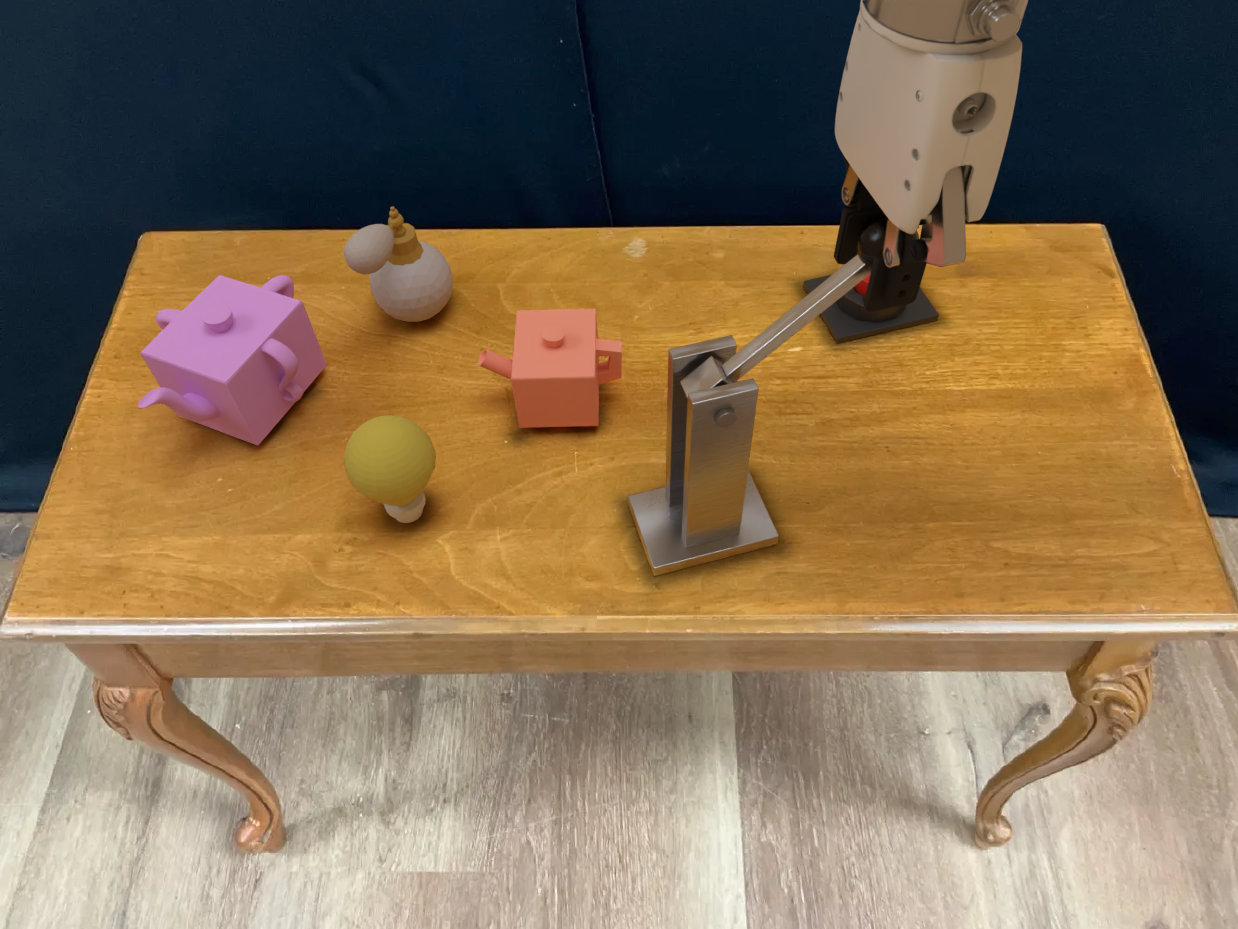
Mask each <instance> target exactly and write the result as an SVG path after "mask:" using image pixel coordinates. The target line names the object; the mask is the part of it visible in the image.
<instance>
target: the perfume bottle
mask: <svg viewBox="0 0 1238 929" xmlns="http://www.w3.org/2000/svg"><path fill="white" fill-rule="evenodd" d="M388 215H389V217H388V220H387V224H383V223H375V224H369V225H367V226H364V227H361V228H360V229H359V230H357V231H355V232H354V233H352V235H351V236H350V237H349V238H348V239H347V241H346V243H345V246H344V249H343V256H344V260H345V263H346V264H347V266H348V267H349V268H350V269H351V270H352V271H353V272H356V273H357V274H361V275H369V287H370V291H371V294H372V297H373V298H374V300H375V302H376V303H377V305H378V307H379V308H380V309H381V310H383V311H384V312H385V313H386V314H387V315H388V316H390V317H393V318H394V319H396V320H400V321H404V322H406V323H407V322H408V323H414V322H415V323H416V322H417V323H419V322H422V321H426V320H430V319H431V318H433V317H434V316H436V315H437V314H438V313H440V312H441V311H442V310H443V309H444V308H445V307H446V305H448V302H449V300H450V298H451V295H452V291H453V286H454V285H453V273H452V270H451V267H450V264H449V262H448V260H447V259H446V257H445V256H444V255H443V253H441V251H440V250H438V248H437V247H435V246H433V245H431V244H429V243H428V242H425V241H422V240H419V239H418V236H417V232H416V229H415V226H413V225H412V224H410V223H407V222H404V217H403V215H401V213H399V211H398V209H397V208H395V206H390V210H389V213H388Z"/></svg>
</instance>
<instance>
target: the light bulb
mask: <svg viewBox="0 0 1238 929" xmlns="http://www.w3.org/2000/svg"><path fill="white" fill-rule="evenodd" d="M436 453H437V452H436V450H435V447H434V444H433V441H432V439H431V436H429V434H428V433H427V432H426V431H425V429H423V428H422V426H421V425H419V424H418V423H416V422H415V421H413V420H411V419H409V418H407V417H405V416H399V415H395V414H391V415H390V414H389V415H379V416H376V417H373V418H371V419H368V420H367V421H365V422H363V423H362V424H360V425H359V427H357V428H356V429H355V430H354V431H353V433H352V434H351V436H350V438H349V440H348V441H347V443H346V444H345V449H344V457H343V465H344V469H345V470H344V471H345V473H346V478H347V480H348V482H349V483H350V484H351V486H352V487H353V488H354V489H355V491H356V493H357V492H358V493H360V494H361V495H363V496H365V497H366V498H368V499H370V500H373V501H374V502H377V503H379V504H381V505H383V507H384V509H385V511H386V513H387V514H388V515H389V516H390V517H391V518H393V519H395V520H396V521H397V522H399V523H403V524H409V523H413V522H416V521H417V520H419V518H420V517H421V516H422V514H423V513H424V512H423V511H424V507H425V506H426V500H427V498H426V496H425V493H424V490H425V489H426V487H427V485H428V483H429V481H430V479H431V477H432V475H433V472H434V470H435V468H436V461H437V460H436V459H437V454H436Z"/></svg>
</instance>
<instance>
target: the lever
mask: <svg viewBox="0 0 1238 929" xmlns="http://www.w3.org/2000/svg"><path fill="white" fill-rule="evenodd" d="M887 221H888V217H887V216H886V215H885V214H881V215H878V216H876V217H874V218H872V219H871V220H870V221H868V222H867V223H866V224H865V225H864V227H863V228H862V230H861V231H860V233H859V236H858V240H857V253H858V254H857V255H856V256H855V257H853V258H852V259H851V260H850V261H848V262H847V263H846V264H844V265H843V266H841V267H840V268H839V269H837V270H836V271H835V272H834V273H832V274H830V275H831V276H830V277H829V278H828V279H826V280H825V281H824V282H823V283H822V284H820V285H819V286H818V287H817V288H815V289H814V290H813V291H812V292H811V293H809V294H806V295H805V296H804V297H803V298H802V299H800V301H798V302H797V303H796V304H794V305H793V306H792V307H791V308H789V309H788V310H787V311H786V312H785V313H784V314H782V315H781V316H780V317H778V318H777V319H776V320H775V321H773V323H771V324H770V325H769V326H768V327H766V328H765V329H763V330H762V331H761V332H760V333H759V334H758V335H757V336H755V337H754V338H753V339H752V340H750V341H749V342H748V343H747V344H745V345H744V346H743V347H742V348H740V349H739V350H738V351H736V354H735V355H733V356H732V357H731V358H730V359H728V360H727V361H726V362H725V363H724V364H723V363H721V362H720V361H718V360H717V359H715V358H714V357H712V356H711V357H709V358H708V359H707V360H706V361H705V362H703V363H702V364H701V365H700V366H699V367H697V368H696V369H695V370H694V371H692V372H691V373H690V374H689V375H688V376H686V377H685V378H684V379H683V380H682V381H681V382H680V383H681V385H682V387H683V390H684V392H685V394H686V397H687V399H688V393H691V392H696V391H700V390H704V389H709V388H713V387H717V386H721V385H726V384H730V383H734V382H739V381H738V380H740V379H741V378H742V377H743V376H745V375H746V374H747V373H748V372H750V371H751V370H753V368H754V367H756V366H757V365H758V364H760V363H761V362H763V360H765V359H766V358H767V357H769V356H770V355H771V354H772V353H774V352H775V351H776V350H777V349H778V348H780V347H781V346H782V345H784V344H785V343H786V342H787V341H788V340H790V339H791V338H792V337H794V336H795V335H796V334H797V333H799V331H801V330H802V329H803V328H804V327H806V326H807V325H808V324H809V323H811V322H812V321H814V320H815V319H816V318H817V317H818V316H820V314H821V313H822V312H823V311H824V310H826V309H827V308H828V307H829V306H831V305H832V304H833V303H834V302H836V301H837V300H838V299H839V298H841V297H842V296H843V295H844V294H846V293H847V292H848V291H849V290H851V289H852V288H853V287H854V286H856V285H857V284H858V283H859V282H861V281H862V280H863V279H864V278H866V277H867V276H868V275H869V274H871V270H872V266H873V262H874V258H875V256H877V255H879V254H883V249H884V242H885V235H886V228H887ZM916 239H920V235H919V232H918V229H917V230H916V232H915V233H914V234H908V233H906V234H905V240H904V242H908V241H912V240H916Z"/></svg>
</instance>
